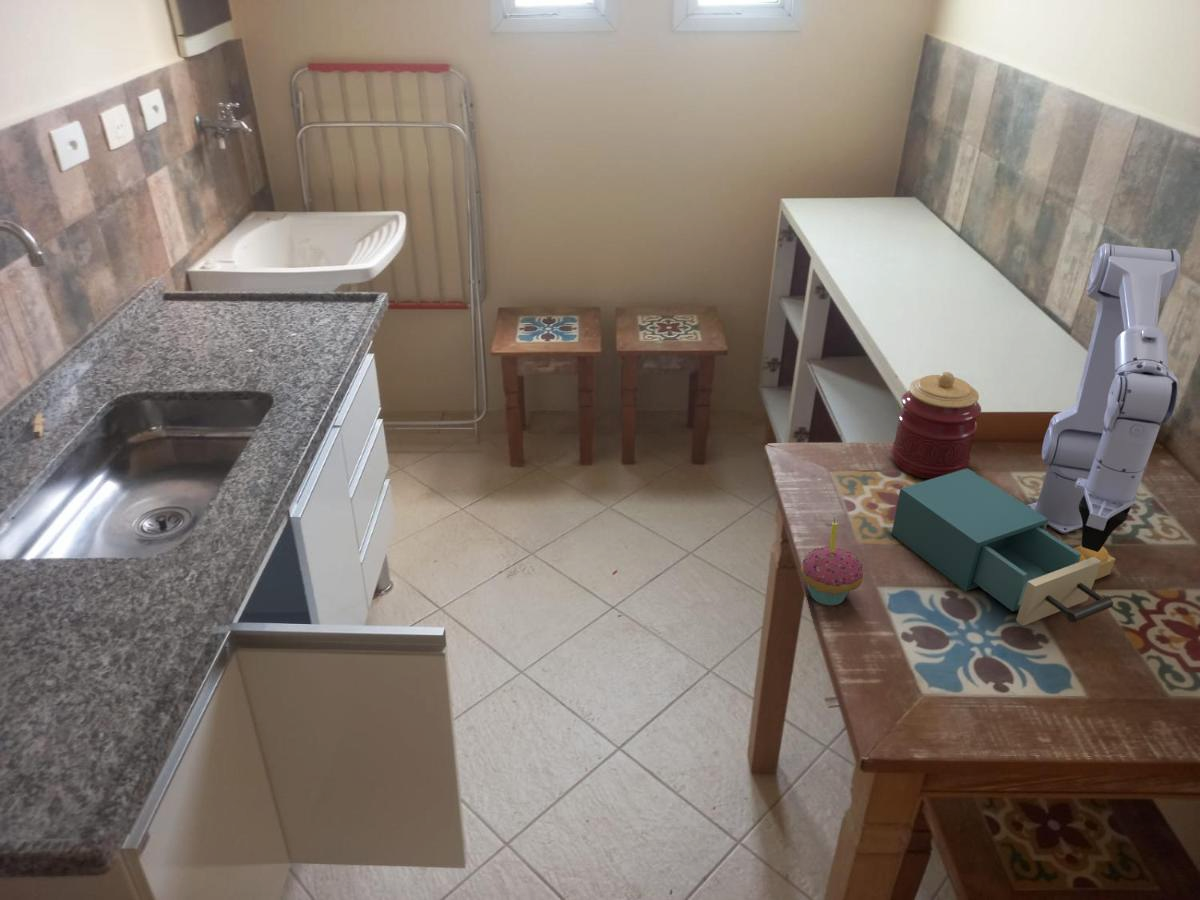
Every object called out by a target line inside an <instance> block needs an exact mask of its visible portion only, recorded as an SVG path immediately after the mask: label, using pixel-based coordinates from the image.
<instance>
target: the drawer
mask: <svg viewBox="0 0 1200 900" xmlns="http://www.w3.org/2000/svg"><path fill="white" fill-rule="evenodd" d="M1073 548H1074V547H1071V546H1070V545H1068V544H1067V543H1066V542H1064V541H1063V540H1061V539H1059V538H1058V537H1056V536H1055V535H1053V534H1052V533H1050V532H1048V531H1047V530H1046V529H1045V530H1043V529H1042V528H1040V527H1039V526H1038V527H1035V528H1032V529H1029V530H1026V531H1024V532H1021V533H1018V534H1015V535H1012V536H1009V537H1006V538H1003V539H1000V540H997V541H995V542H992V543H989V544H986V545H983V546H981V548H980V552H979V556H978V559H977V563H976V567H975V571H974V575H973V579H972V581H973V582H974V583H976V584H977V585H978V586H979V587H980V588H981V589H982V590H983V591H984V592H986V593H987V594H988V595H990V596H991V597H993V598H994V599H995V600H996V601H998V602H999V603H1001V604H1002V605H1003V606H1005V607H1006V608H1007V609H1009V610H1010V611H1011V612H1015V611H1017V612H1018V613H1017V616H1016V619H1015V622H1017V623H1019V624H1020V626H1023V627H1024V626H1026V625H1028V624H1031V623H1034V622H1036V621H1038V620H1040V619H1044V618H1047V617H1049V616H1052V615H1055V614H1056V613H1059V612H1062V613H1063V614H1065V616H1066V619H1067V620H1068V622H1070V623H1076V622H1078V621H1081V620H1083V619H1086V618H1088V617H1090V616H1093V615H1096V614H1097V613H1098V614H1099V613H1101V612H1103V611H1105V610H1108V609H1110V608H1112V607H1113V606H1114V601H1113V600H1112V598H1110V597H1108V596H1105V597H1103V596H1101V595H1100V594H1099V593H1097V592H1096V591H1094V590H1093V586H1094V584H1095V581H1096V580H1095V578H1096V575H1097V572H1098V569H1099V566H1100V563H1101V561H1100V560H1098V559H1097V558H1095V557H1092V558H1089V559H1086V560H1084V561H1081V562H1079V560H1080V557H1081V553H1079V552H1078V551H1076V550H1075V549H1073ZM1089 597H1090V598H1092V599H1094V600H1095V601H1092V602H1090V603H1088V604H1085V605H1083V606H1080V607H1078V608H1075V609H1072V610H1071V609H1070V608H1072V607H1074V606H1077V605H1079V604H1081V603H1084V602H1087V601H1089Z"/></svg>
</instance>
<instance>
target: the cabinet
mask: <svg viewBox="0 0 1200 900" xmlns="http://www.w3.org/2000/svg"><path fill="white" fill-rule="evenodd" d="M1027 505H1028V504H1026V503H1024V502H1022V501H1021V500H1019V499H1017V498H1016V497H1015V496H1013V495H1011V494H1009V493H1008V492H1007V491H1005V490H1004V489H1002V488H1000V487H999V486H997V485H995V484H994V483H992V482H990V481H989V480H987V479H986V478H984V477H983V476H982V475H979V474H978V473H976V472H975V471H974V470H971V469H970V468H968V467H966V469H963V470H960V471H957V472H953V473H950V474H947V475H943V476H940V477H937V478H933V479H926V480H924V481H921V482H917V483H914V484H910V485H907V486H904V487H900V489H899V493H898V498H897V504H896V509H895V514H894V519H893V523H892V528H891V529H892V530H891V535H892V536H893V537H894V538H896V540H898V541H900V542H901V543H902V544H904V545H905V546H906V547H908V549H910V550H911V551H913V553H915V554H917V556H919V557H920V558H921V559H923V560H924V561H925V562H927V563H928V564H929V565H931V566H932V567H933V568H935V569H936V570H937V571H939V572H940V573H941V574H942V575H943V576H945V577H946V578H947V579H948V580H950V581H952V583H954V584H955V585H956V586H958V587H959V588H960V589H962V590H963V592H968V591H971V590H973V589H976V588H979V587H980V586H978V585H977V584H976V583H974V582H973V581H972V579H973V575H974V571H975V567H976V563H977V559H978V556H979V552H980V548H981V546H983V545H986V544H989V543H992V542H995V541H997V540H1000V539H1003V538H1006V537H1009V536H1012V535H1015V534H1018V533H1021V532H1024V531H1026V530H1029V529H1032V528H1035V527H1038V526H1039V527H1040V528H1042V529H1043V530H1045V531H1046V529H1047V526H1048V525H1047V523H1048V520H1049V519H1048V518H1046V517H1045V516H1043V515H1042V514H1040V513H1038V512H1037V511H1035V510H1034V509H1032V508H1030V507H1029V506H1027Z"/></svg>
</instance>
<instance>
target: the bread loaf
mask: <svg viewBox="0 0 1200 900" xmlns="http://www.w3.org/2000/svg"><path fill="white" fill-rule="evenodd" d="M1072 548H1073V549H1075V550H1076V551H1078V552H1079V553H1081V557H1080V560H1079V562H1081V561H1084V560H1086V559H1089V558H1092V557H1095V558H1097V559H1098V560H1100V561H1101V563H1100V566H1099V569H1098V572H1097V575H1096V578H1095V581H1096V580H1098V579H1101V578H1103V577H1106V576H1109V575H1110V574H1111V572H1112V570H1113V567H1114V564H1115V561H1116V558H1115V557H1114V556H1112V555H1110V554H1109V552H1108V550H1107V549H1106V547H1104V546H1103V547H1102V548H1101V549H1100V550H1099V551H1098V552H1096V551H1093V550H1089V549H1086V548H1083V547H1082V544H1081V545H1078V546H1076V547H1072Z"/></svg>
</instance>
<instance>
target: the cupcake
mask: <svg viewBox="0 0 1200 900" xmlns="http://www.w3.org/2000/svg"><path fill="white" fill-rule="evenodd" d="M837 528H838V523H837V522H836V517H833V522H832V523H831V531H830V532H831V533H830V544H829V545H825V546H824V547H822V546H821V547H817V548H815V549H812V550H811V551H808V553H807V555H805V557H804V558H803V560H802V563H801V567H800V573H801V576H802V577H803V579H804V582H805V583H806V584H807V585H808V589H809V593H810V596H811V598H812V599H813V600H814V601H815V602H816V603H819V604H821V605H825V606H836V605H837V606H838V605H839V604H842V603H843V602H844V600H845V599H846V597H847V595H848V593H849V592H850V591H855V590H858V588H859V587H860V586H861V585H862V582H863V580H864V571H865V570H864V569H863V567H864V566H863V564H861V562H860V561H859V560H858V559H857V556H855V555H854V554H852V552H850V551H846V550H845V549H842V548H839V547H836V540H837V539H836V538H837Z"/></svg>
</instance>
